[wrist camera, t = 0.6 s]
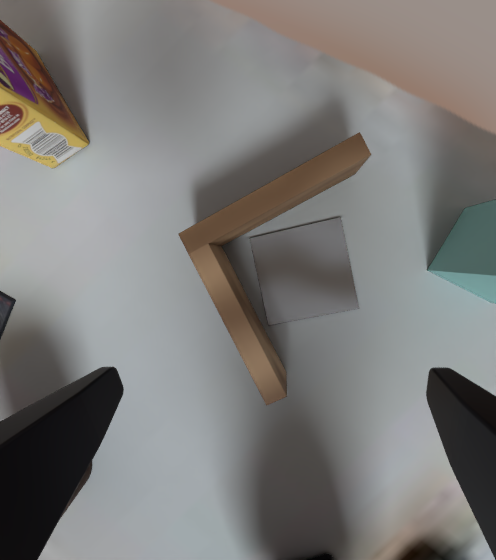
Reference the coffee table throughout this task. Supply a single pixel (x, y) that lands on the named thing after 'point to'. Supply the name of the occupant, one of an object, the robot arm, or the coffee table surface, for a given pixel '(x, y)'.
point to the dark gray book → (5, 310)
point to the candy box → (33, 106)
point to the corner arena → (279, 260)
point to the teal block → (471, 252)
